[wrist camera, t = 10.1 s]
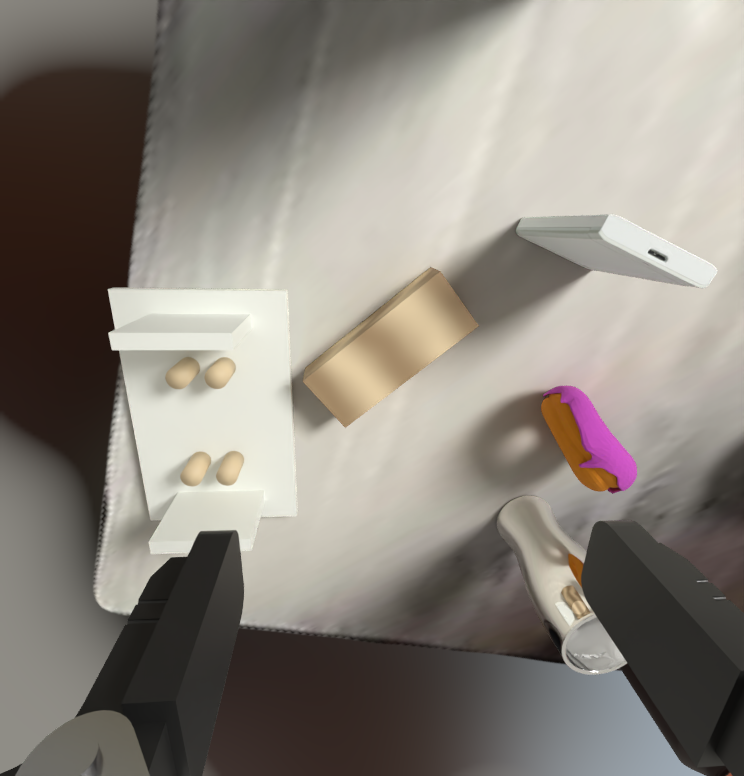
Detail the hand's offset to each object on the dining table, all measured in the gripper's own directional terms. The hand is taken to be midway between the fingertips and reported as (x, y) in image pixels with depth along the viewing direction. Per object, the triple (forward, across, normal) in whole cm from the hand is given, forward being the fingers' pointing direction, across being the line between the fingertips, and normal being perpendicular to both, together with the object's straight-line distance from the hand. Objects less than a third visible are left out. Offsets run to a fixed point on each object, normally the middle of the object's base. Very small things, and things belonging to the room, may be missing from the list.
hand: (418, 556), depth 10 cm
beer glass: (+30, -18, +22) cm, 41 cm away
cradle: (+30, +13, +9) cm, 34 cm away
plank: (+30, -2, +3) cm, 30 cm away
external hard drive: (+30, -17, -6) cm, 35 cm away
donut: (+30, -20, +10) cm, 38 cm away
